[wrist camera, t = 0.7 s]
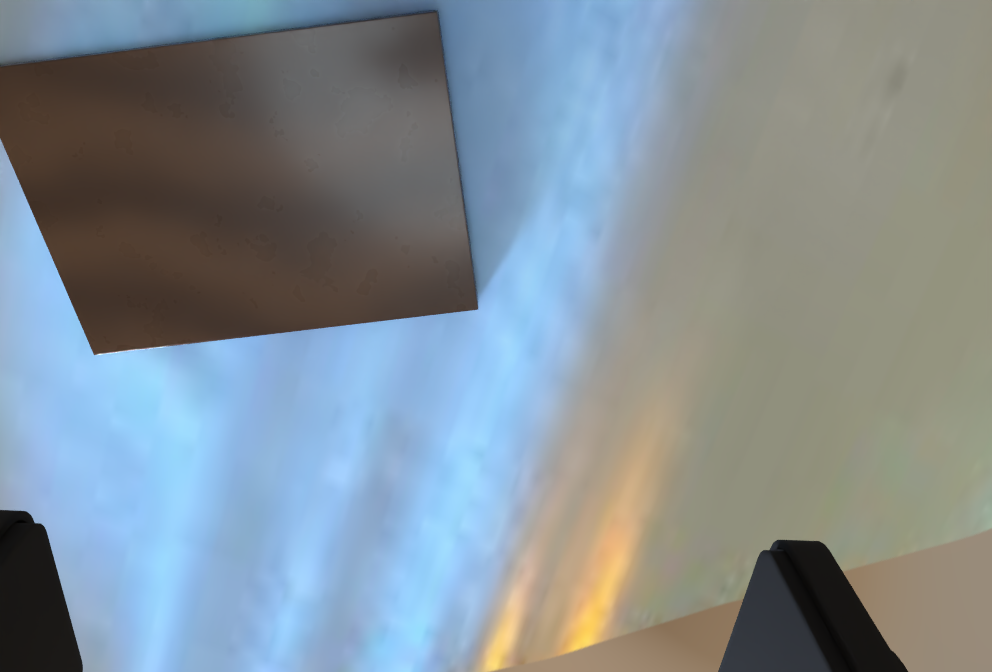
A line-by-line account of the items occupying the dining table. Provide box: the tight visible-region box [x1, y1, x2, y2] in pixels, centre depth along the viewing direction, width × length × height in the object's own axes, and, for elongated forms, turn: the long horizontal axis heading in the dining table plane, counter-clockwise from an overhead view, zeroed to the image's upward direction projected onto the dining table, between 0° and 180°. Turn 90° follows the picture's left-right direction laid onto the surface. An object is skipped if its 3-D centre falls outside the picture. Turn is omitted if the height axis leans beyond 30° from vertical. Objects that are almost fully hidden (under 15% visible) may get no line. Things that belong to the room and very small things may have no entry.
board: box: [0, 10, 478, 355], centre depth 34 cm, size 14×20×1 cm
